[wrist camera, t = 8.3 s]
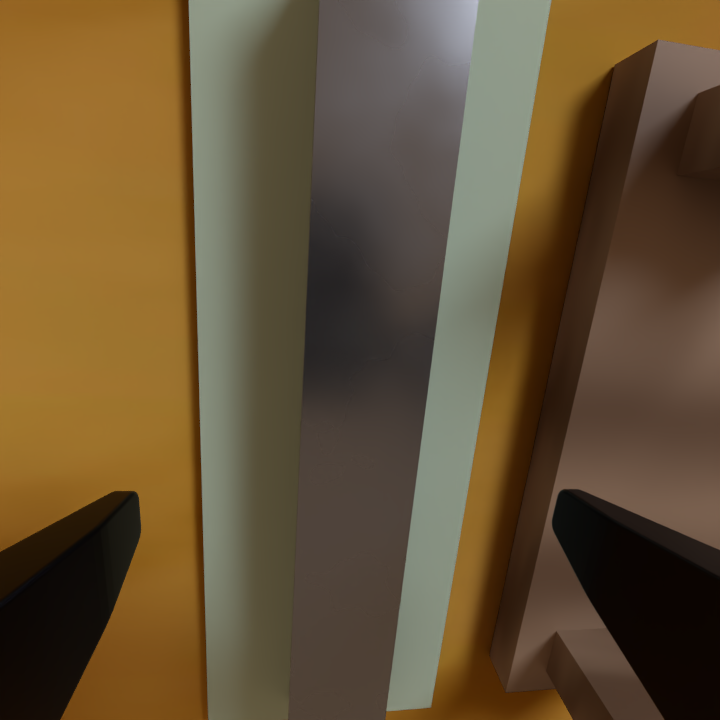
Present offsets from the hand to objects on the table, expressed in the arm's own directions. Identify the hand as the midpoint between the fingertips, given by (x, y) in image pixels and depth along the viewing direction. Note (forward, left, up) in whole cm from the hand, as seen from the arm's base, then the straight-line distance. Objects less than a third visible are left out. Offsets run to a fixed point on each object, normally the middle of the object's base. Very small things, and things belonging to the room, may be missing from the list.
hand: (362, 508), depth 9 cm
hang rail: (0, 0, -5) cm, 5 cm away
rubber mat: (0, 0, -5) cm, 5 cm away
